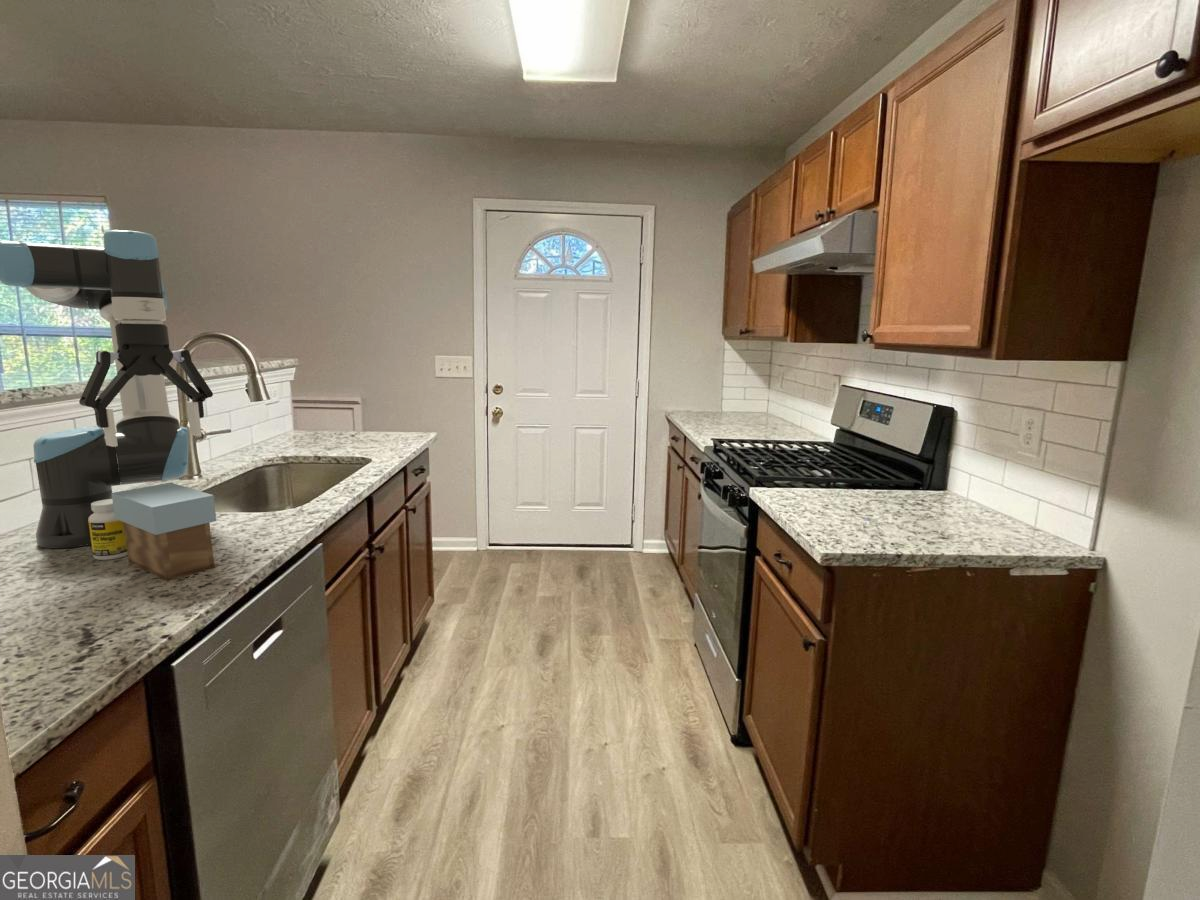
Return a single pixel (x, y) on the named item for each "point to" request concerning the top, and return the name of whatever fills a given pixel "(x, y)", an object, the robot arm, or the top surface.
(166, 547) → the box
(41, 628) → the top surface
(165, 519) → the light blue block
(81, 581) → the top surface
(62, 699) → the top surface
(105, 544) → the pill bottle
